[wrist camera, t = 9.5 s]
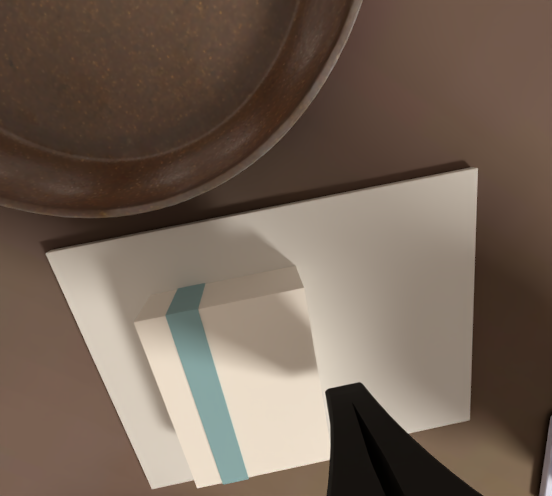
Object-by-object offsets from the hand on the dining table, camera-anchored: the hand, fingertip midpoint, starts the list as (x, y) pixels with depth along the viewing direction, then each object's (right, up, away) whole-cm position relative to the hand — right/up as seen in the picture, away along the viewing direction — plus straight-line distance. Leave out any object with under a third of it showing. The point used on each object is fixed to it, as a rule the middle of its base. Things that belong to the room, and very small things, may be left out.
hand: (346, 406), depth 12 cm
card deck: (-1, +1, +3) cm, 3 cm away
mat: (-2, +1, +4) cm, 4 cm away
